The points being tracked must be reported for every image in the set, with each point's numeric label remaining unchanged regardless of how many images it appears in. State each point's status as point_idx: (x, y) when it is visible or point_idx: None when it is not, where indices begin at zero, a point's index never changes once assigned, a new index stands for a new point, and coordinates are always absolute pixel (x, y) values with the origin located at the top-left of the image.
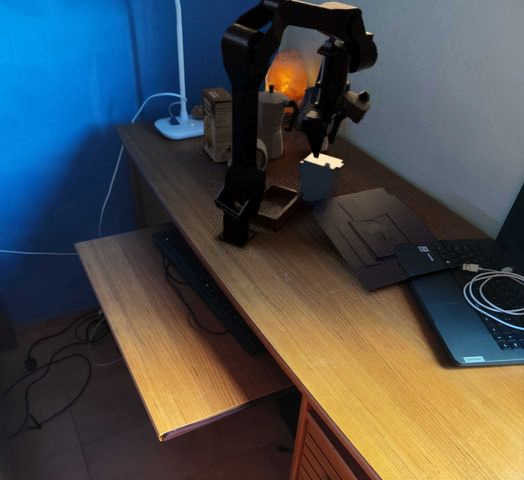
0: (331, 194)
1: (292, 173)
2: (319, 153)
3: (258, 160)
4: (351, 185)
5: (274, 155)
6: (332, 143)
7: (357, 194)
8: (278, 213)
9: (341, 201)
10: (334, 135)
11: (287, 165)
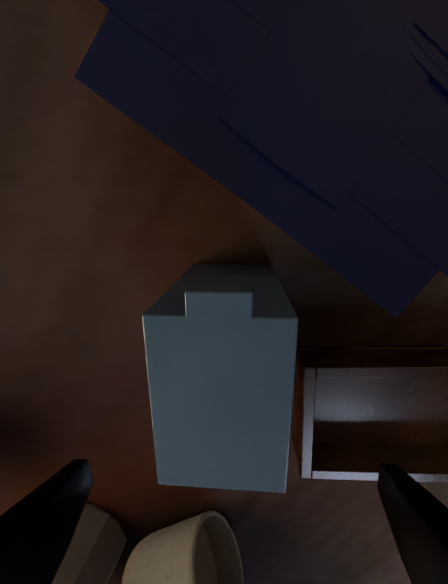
0: (254, 273)
1: (140, 440)
2: (435, 501)
3: (197, 555)
4: (73, 257)
5: (97, 519)
6: (85, 462)
7: (217, 162)
8: (410, 380)
9: (316, 202)
10: (37, 525)
11: (108, 468)
